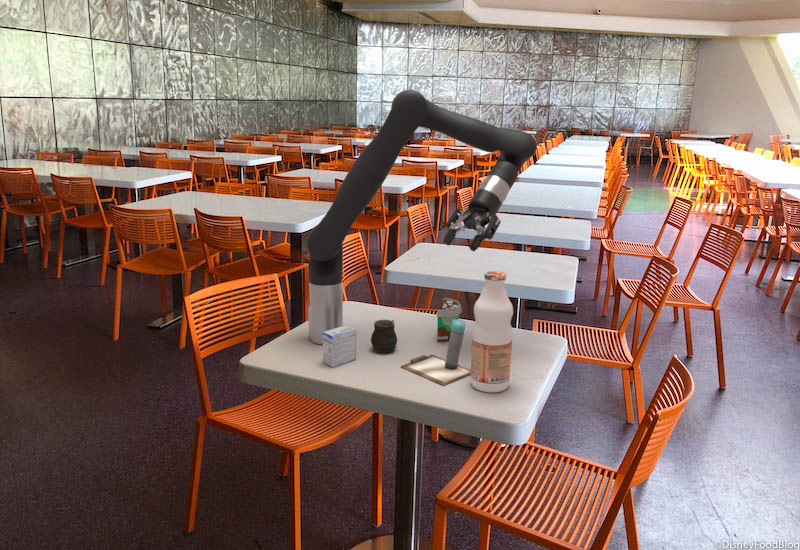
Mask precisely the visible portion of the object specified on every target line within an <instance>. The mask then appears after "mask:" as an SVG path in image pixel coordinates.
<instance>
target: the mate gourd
mask: <svg viewBox="0 0 800 550" xmlns="http://www.w3.org/2000/svg"><path fill="white" fill-rule="evenodd" d="M394 321H395V319H392V320H391V319H378V320H376V321H374V322H373V325H374V326H373V327H374V329H373V331H372V333H371V336H370V343H371V346H372V348H373V350H374V351H376V352H377V353H381V354H386V353H387V354H388V353H390V352H392V351H393V350H394V349H395V348H396V347H397V343H398V336H397V334H396V330H395V322H394Z"/></svg>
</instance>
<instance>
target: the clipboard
mask: <svg viewBox="0 0 800 550" xmlns="http://www.w3.org/2000/svg"><path fill="white" fill-rule="evenodd" d="M445 361H446V358H442V357H440V356H437V355H434V354H429V355H425V354H422V355H420V356H417V357H415V358H410V361H409V362H407V363H406V364H405V363H404V364H402V365H400V368H401V369H403V370H406V371H408V372H410V373H413V374H415V375H418V376H420V377H422V378H424V379H427V380H429V381H432V382H433V383H435V384H437V385H439V386H443V387H446V386H447V385H450V384H452V383H454V382H457V381H459V380H462V379H464V378H467V377H468V376H470V373H471V368H470V369H469V368H467V367H464V366H462V365H460V364H458V366H457V369H454V370H452V369H448V368H446V367H445Z"/></svg>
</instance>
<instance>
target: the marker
mask: <svg viewBox="0 0 800 550" xmlns="http://www.w3.org/2000/svg"><path fill="white" fill-rule="evenodd" d="M466 326H467V322H466V321H464V320H462V319H459V320H458V319H455V320H453V322H452V327H451V335H450V340H449V341H448V347H447V351H446V356H445V360H446V361H445V367H446V368H448V369H452V370H454V369H457V366H458V365H459V360H460V354H461V349H462V345H463V339H464V334H465V331H466Z"/></svg>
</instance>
